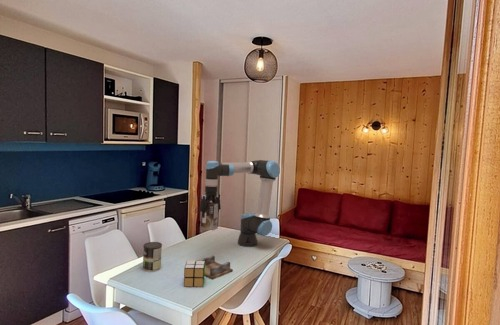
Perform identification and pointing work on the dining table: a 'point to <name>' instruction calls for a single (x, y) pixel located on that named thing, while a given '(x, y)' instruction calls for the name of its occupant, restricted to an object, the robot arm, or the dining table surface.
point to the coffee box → (211, 217)
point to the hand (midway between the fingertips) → (209, 221)
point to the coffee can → (152, 256)
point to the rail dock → (207, 271)
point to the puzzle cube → (194, 274)
